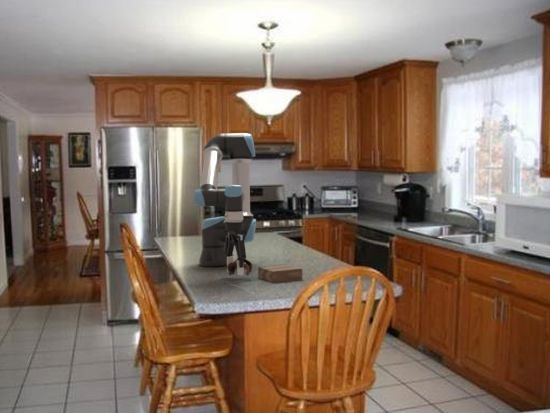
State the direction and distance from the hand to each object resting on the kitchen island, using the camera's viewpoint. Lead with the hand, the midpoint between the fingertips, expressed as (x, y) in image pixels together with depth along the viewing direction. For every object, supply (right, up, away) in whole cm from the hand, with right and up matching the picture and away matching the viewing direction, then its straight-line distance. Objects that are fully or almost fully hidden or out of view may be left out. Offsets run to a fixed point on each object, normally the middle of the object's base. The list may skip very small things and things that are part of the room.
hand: (235, 273), depth 242 cm
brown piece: (-1, -2, 0) cm, 2 cm away
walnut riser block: (+19, -3, 0) cm, 19 cm away
